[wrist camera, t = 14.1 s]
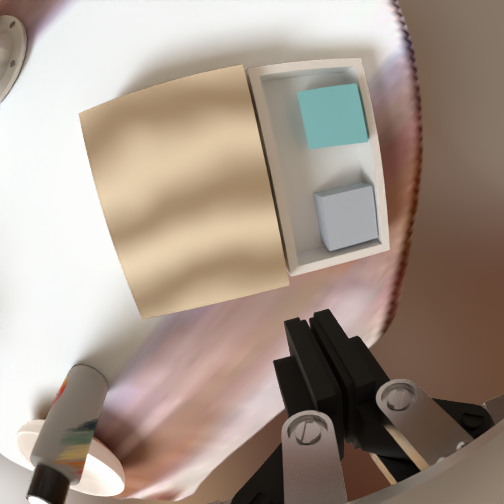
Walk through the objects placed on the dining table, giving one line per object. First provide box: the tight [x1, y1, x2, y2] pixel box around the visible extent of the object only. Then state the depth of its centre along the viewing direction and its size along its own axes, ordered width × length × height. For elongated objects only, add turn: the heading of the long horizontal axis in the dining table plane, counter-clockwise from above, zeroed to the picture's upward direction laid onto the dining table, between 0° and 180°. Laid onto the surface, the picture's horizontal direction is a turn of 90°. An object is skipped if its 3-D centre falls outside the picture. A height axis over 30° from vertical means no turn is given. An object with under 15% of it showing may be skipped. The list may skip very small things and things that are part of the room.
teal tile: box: [297, 83, 368, 150], centre depth 23 cm, size 5×5×2 cm
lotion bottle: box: [26, 365, 108, 504], centre depth 23 cm, size 6×6×20 cm
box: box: [245, 58, 390, 276], centre depth 26 cm, size 18×10×4 cm, turn 12°
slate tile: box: [313, 182, 378, 251], centre depth 27 cm, size 5×5×2 cm
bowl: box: [15, 420, 125, 496], centre depth 34 cm, size 20×20×6 cm
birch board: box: [79, 64, 289, 319], centre depth 24 cm, size 18×13×5 cm
